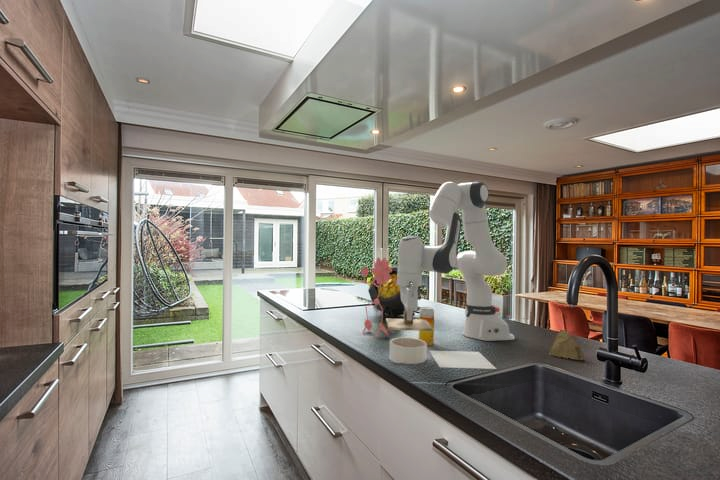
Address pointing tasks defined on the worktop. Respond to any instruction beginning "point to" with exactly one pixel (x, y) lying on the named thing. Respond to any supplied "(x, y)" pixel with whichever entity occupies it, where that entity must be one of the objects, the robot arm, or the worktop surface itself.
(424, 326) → the lid
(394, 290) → the cauldron
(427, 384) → the worktop surface
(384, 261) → the figurine
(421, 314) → the beer can
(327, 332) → the worktop surface
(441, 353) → the mat
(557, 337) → the rock
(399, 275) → the robot arm
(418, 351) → the bowl
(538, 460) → the worktop surface
